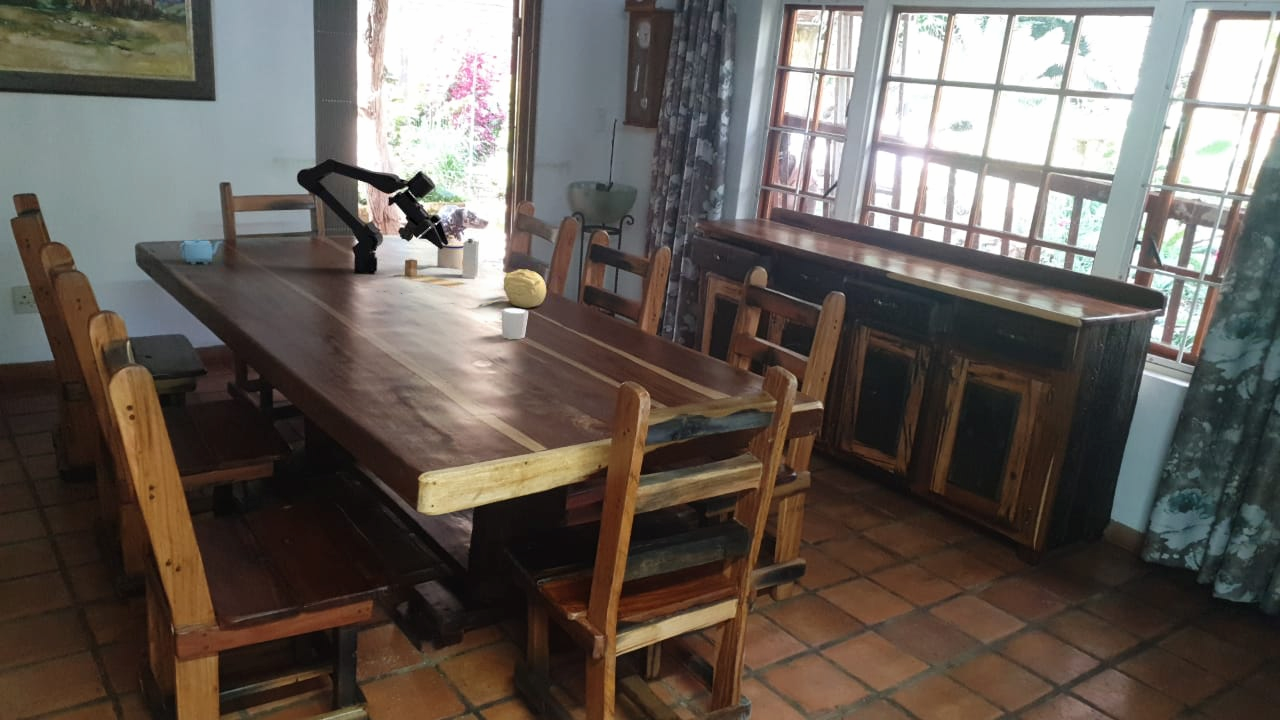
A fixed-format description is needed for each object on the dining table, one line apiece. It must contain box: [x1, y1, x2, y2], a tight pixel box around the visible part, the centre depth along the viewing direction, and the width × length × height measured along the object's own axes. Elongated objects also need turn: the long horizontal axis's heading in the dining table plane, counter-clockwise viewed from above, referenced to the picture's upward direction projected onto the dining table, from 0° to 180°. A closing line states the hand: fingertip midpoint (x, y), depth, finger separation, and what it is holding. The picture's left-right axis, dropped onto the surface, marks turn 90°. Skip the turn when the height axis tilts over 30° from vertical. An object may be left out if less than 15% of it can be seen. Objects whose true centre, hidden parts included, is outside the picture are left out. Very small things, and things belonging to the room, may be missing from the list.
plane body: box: [396, 258, 468, 289], centre depth 287 cm, size 21×8×6 cm, turn 66°
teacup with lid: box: [437, 234, 464, 271], centre depth 312 cm, size 12×9×12 cm
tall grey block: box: [461, 238, 480, 280], centre depth 296 cm, size 4×5×13 cm
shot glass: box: [500, 307, 529, 340], centre depth 237 cm, size 7×7×7 cm
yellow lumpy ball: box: [503, 268, 547, 309], centre depth 272 cm, size 12×12×11 cm
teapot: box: [179, 238, 222, 265], centre depth 288 cm, size 12×6×8 cm, turn 121°
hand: (444, 246), depth 295 cm, fingers open, 9 cm apart
